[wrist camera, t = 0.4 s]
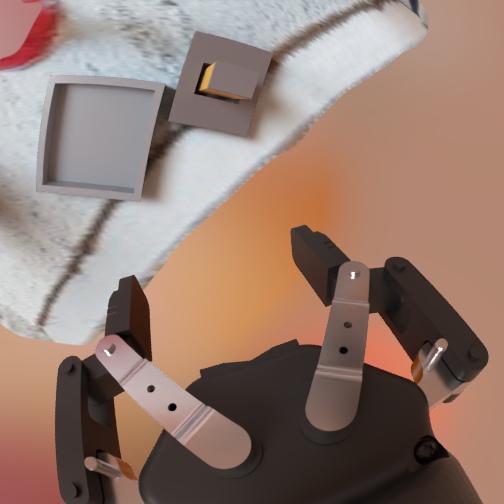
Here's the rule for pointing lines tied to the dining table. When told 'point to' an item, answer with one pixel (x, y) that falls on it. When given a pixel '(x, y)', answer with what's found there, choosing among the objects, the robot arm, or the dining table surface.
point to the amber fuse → (228, 81)
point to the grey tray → (96, 136)
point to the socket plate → (209, 109)
